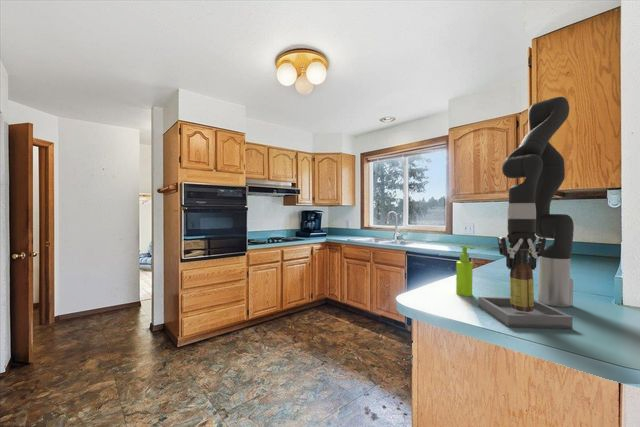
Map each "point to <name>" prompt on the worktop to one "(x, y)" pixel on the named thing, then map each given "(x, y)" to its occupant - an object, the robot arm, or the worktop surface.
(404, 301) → the worktop surface
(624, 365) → the worktop surface
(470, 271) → the soap dispenser
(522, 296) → the sauce bottle
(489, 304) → the charcoal tray
